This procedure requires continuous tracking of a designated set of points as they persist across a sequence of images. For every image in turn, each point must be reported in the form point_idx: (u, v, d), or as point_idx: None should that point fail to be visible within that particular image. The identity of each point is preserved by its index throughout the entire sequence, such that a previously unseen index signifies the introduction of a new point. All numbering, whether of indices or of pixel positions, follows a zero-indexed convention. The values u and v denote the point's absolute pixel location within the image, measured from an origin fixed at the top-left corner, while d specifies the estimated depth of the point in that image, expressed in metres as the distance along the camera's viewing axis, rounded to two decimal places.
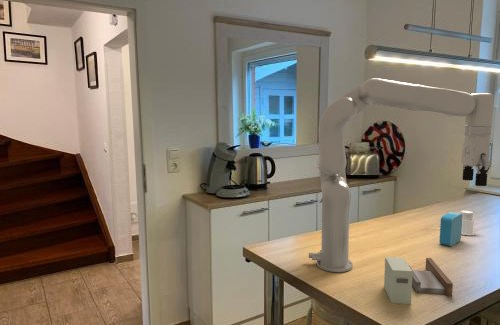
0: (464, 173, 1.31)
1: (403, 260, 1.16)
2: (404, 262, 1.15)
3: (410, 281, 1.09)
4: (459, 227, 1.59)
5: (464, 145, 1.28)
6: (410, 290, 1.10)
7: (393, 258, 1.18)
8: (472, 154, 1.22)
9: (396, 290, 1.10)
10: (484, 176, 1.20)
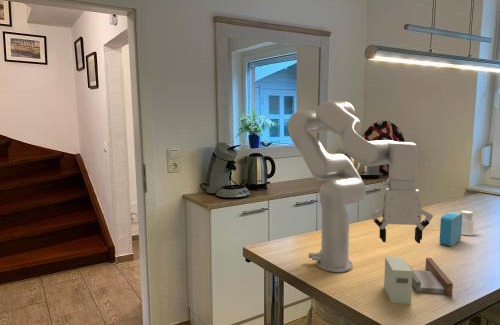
0: (385, 234, 1.12)
1: (403, 260, 1.16)
2: (404, 262, 1.15)
3: (410, 281, 1.09)
4: (459, 227, 1.59)
5: (394, 202, 1.09)
6: (410, 290, 1.10)
7: (393, 258, 1.18)
8: (417, 211, 1.08)
9: (396, 290, 1.10)
10: None
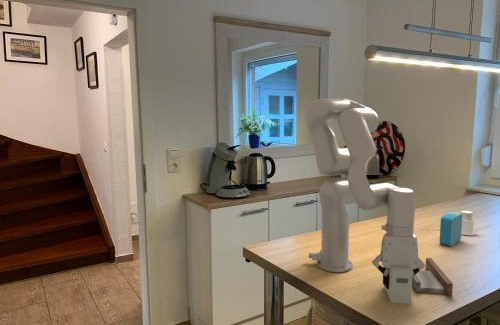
0: None
1: None
2: None
3: (410, 281, 1.09)
4: (459, 227, 1.59)
5: (392, 248, 1.11)
6: (410, 290, 1.10)
7: None
8: (414, 256, 1.10)
9: (396, 290, 1.10)
10: None
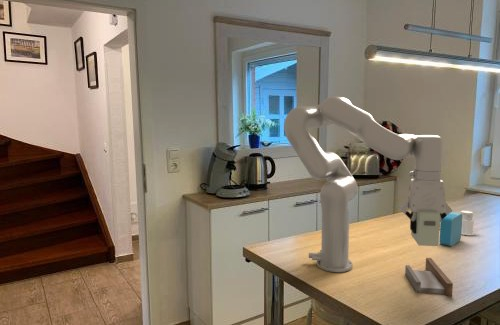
0: (416, 226, 1.18)
1: None
2: None
3: (437, 224, 1.13)
4: (459, 227, 1.59)
5: (419, 192, 1.15)
6: (438, 232, 1.13)
7: None
8: (441, 200, 1.14)
9: (424, 233, 1.14)
10: None
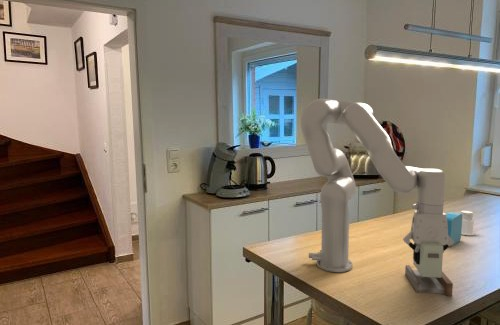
0: (419, 257, 1.20)
1: None
2: None
3: (441, 256, 1.16)
4: (459, 227, 1.59)
5: (423, 225, 1.18)
6: (441, 264, 1.16)
7: None
8: (444, 233, 1.17)
9: (427, 265, 1.17)
10: None
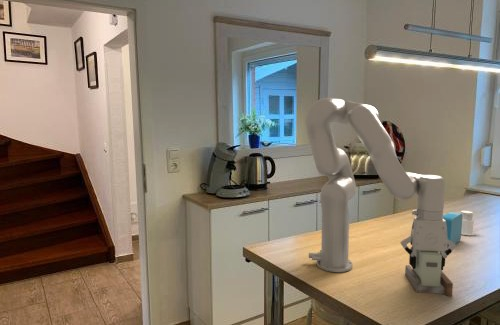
0: (415, 261, 1.21)
1: None
2: None
3: (439, 265, 1.16)
4: (459, 227, 1.59)
5: (422, 231, 1.18)
6: (439, 273, 1.17)
7: None
8: (443, 239, 1.17)
9: (426, 273, 1.17)
10: None
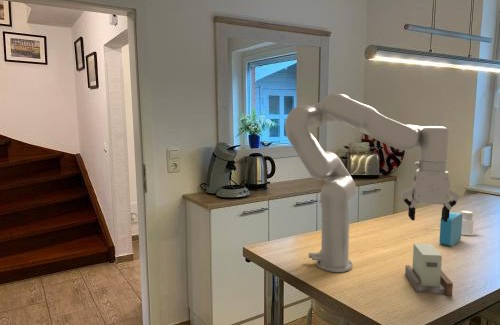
0: (414, 213, 1.19)
1: (431, 246, 1.23)
2: (432, 248, 1.22)
3: (439, 265, 1.16)
4: (459, 227, 1.59)
5: (425, 183, 1.16)
6: (439, 273, 1.17)
7: (421, 245, 1.25)
8: (446, 191, 1.15)
9: (426, 273, 1.17)
10: None
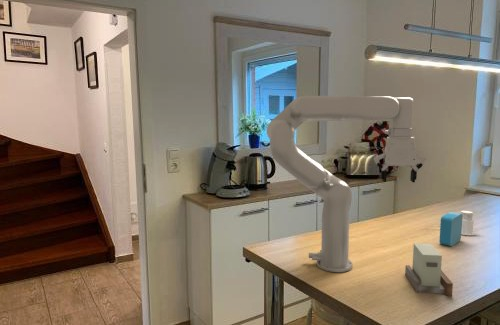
0: None
1: (431, 246, 1.23)
2: (432, 248, 1.22)
3: (439, 265, 1.16)
4: (459, 227, 1.59)
5: (394, 147, 1.31)
6: (439, 273, 1.17)
7: (421, 245, 1.25)
8: (412, 154, 1.30)
9: (426, 273, 1.17)
10: None
